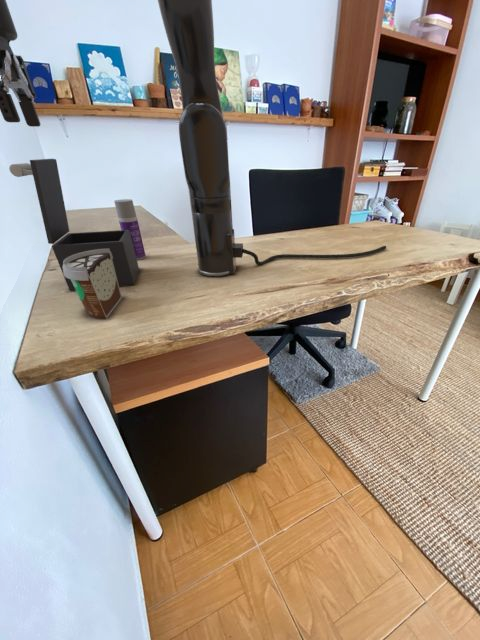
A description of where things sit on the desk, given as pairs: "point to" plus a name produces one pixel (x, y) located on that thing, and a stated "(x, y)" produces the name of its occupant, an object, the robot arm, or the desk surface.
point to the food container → (94, 281)
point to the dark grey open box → (111, 240)
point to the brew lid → (47, 195)
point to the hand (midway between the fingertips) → (24, 124)
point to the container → (130, 225)
